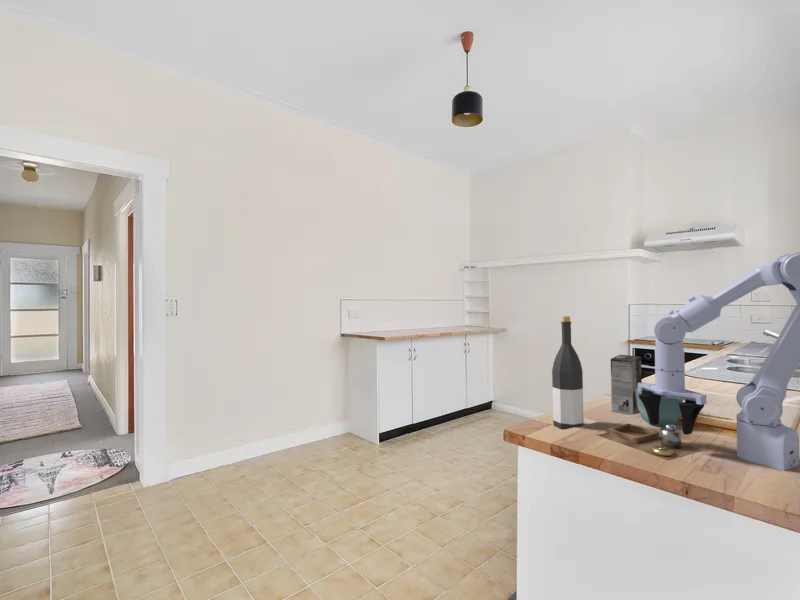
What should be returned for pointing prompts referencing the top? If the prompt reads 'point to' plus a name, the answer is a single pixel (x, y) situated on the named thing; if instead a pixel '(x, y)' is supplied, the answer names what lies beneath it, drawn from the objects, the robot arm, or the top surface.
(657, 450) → the brass domed disc
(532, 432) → the top surface
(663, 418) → the flower pot
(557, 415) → the wine bottle
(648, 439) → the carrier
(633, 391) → the coffee box
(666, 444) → the silver knobbed cylinder
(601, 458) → the top surface
